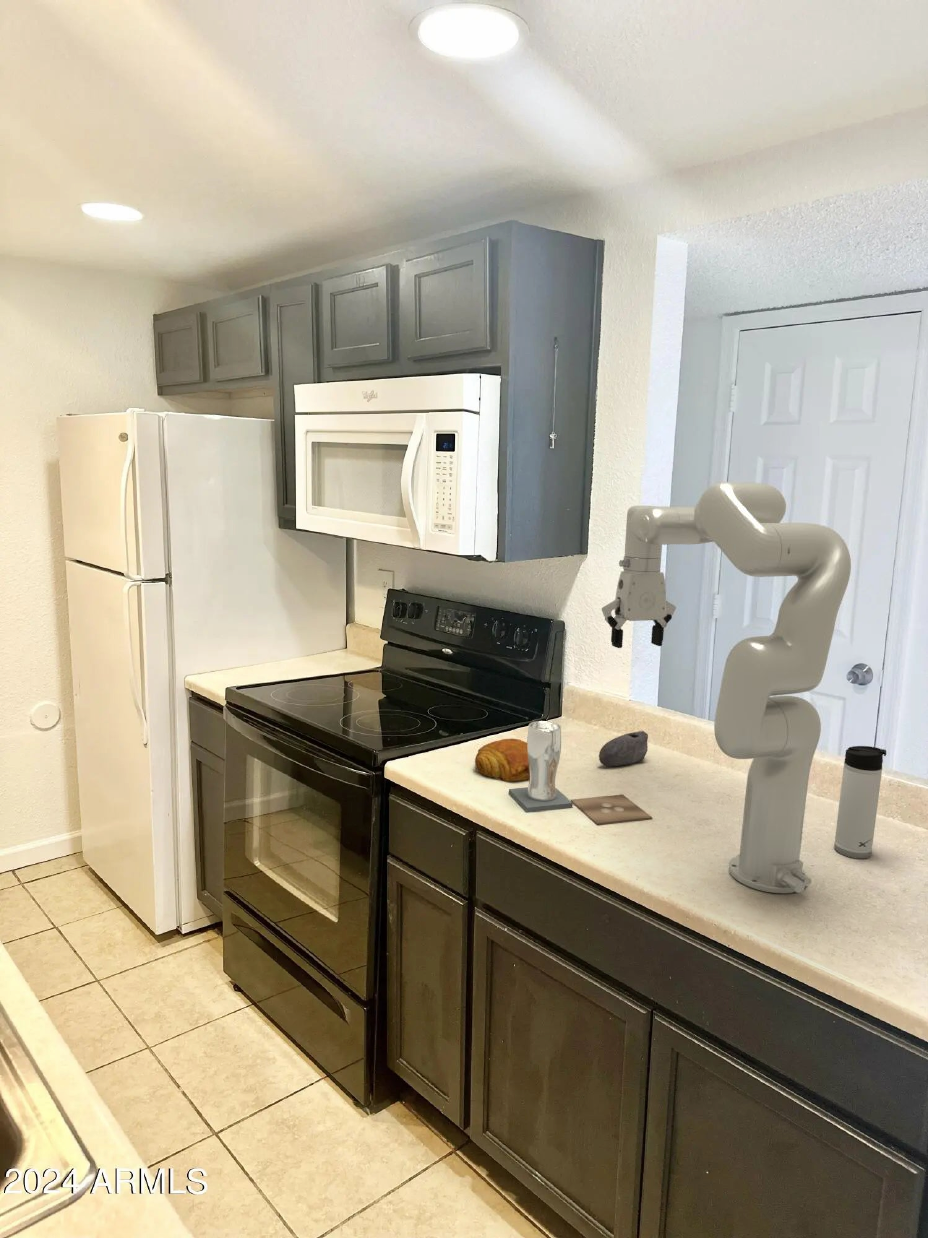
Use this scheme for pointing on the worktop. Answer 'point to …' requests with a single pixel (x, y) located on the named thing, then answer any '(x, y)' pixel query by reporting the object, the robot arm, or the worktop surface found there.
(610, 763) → the perforated stone tool
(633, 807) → the dot tile
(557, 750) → the beer glass
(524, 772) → the croissant
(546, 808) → the rubber mat
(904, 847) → the worktop surface
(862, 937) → the worktop surface
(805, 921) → the worktop surface
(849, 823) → the travel mug
